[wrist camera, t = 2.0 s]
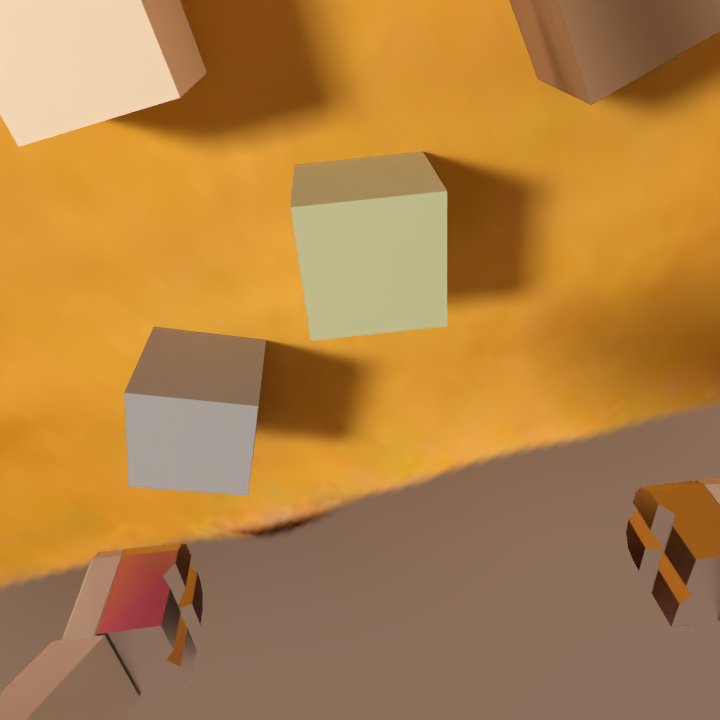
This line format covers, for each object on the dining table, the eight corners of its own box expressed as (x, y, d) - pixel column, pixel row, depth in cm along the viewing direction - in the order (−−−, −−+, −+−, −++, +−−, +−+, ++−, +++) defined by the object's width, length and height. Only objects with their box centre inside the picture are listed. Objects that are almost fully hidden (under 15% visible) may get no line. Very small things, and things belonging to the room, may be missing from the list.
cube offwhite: (142, -102, 18) (90, -125, 14) (207, 72, 21) (180, 97, 16) (-6, -52, 18) (-100, -59, 14) (76, 112, 21) (18, 146, 17)
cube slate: (266, 339, 27) (258, 406, 23) (257, 421, 30) (248, 495, 25) (154, 325, 26) (124, 392, 22) (155, 412, 29) (128, 486, 25)
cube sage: (422, 151, 23) (447, 190, 18) (425, 268, 25) (447, 326, 21) (294, 164, 23) (290, 207, 18) (311, 280, 25) (310, 340, 21)
